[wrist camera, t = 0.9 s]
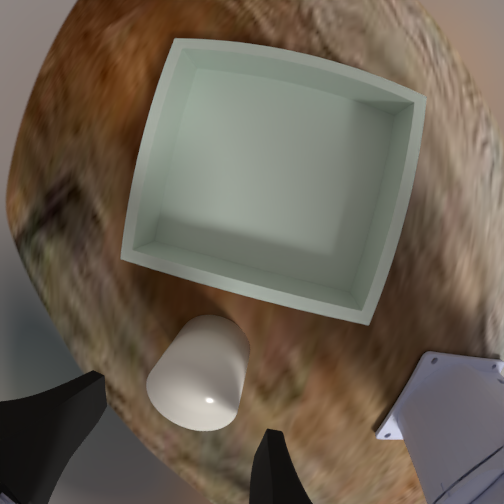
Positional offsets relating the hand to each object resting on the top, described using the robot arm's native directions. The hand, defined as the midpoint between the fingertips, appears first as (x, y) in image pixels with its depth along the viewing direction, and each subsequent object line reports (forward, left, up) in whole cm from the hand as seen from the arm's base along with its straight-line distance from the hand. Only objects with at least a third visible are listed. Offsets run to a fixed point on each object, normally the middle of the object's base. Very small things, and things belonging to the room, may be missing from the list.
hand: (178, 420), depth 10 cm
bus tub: (-1, -10, -7) cm, 12 cm away
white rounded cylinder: (0, 0, -7) cm, 7 cm away
